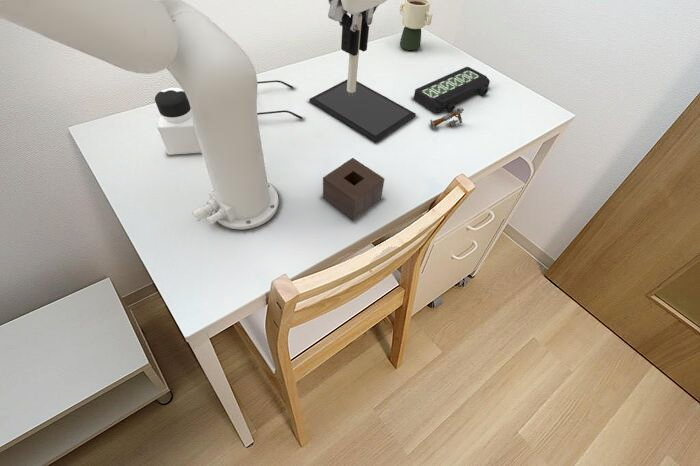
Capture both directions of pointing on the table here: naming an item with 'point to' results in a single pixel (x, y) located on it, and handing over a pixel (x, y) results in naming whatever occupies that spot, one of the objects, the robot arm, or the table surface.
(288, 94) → the table surface
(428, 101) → the digital display
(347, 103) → the tablet
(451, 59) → the table surface
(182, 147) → the medicine bottle
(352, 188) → the block
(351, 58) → the stylus
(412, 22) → the character mug
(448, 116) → the wooden post with brackets
